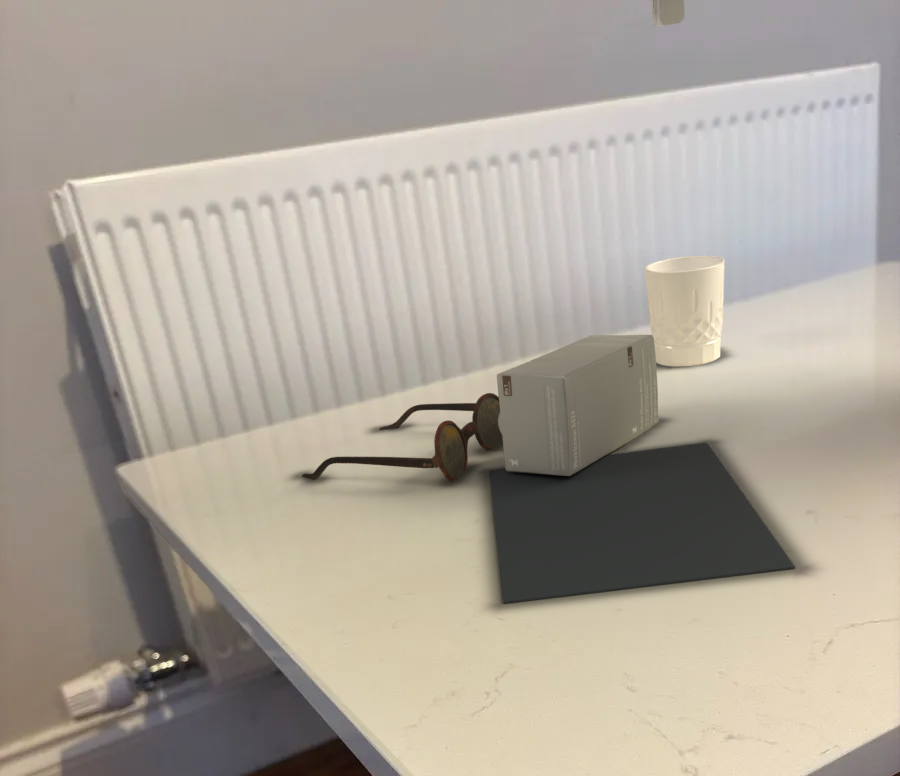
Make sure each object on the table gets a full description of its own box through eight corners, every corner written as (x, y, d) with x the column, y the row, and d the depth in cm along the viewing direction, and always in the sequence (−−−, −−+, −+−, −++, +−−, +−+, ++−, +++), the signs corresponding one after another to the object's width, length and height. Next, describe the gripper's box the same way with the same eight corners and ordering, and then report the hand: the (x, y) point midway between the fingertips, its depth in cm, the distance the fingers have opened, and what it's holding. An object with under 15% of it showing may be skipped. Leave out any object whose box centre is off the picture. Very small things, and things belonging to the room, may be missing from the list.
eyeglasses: (441, 496, 83) (432, 437, 81) (295, 484, 90) (284, 430, 88) (519, 435, 94) (513, 382, 92) (384, 429, 101) (375, 379, 99)
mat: (707, 448, 85) (706, 442, 84) (795, 575, 63) (795, 566, 63) (490, 476, 86) (489, 470, 85) (504, 610, 64) (503, 601, 64)
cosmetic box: (661, 423, 91) (580, 484, 80) (589, 420, 95) (501, 478, 84) (656, 328, 88) (570, 377, 76) (581, 329, 92) (489, 375, 80)
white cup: (634, 367, 109) (628, 270, 104) (680, 348, 113) (676, 254, 109) (695, 375, 103) (692, 273, 99) (741, 355, 108) (740, 256, 103)
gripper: (748, -263, 59) (748, 10, 66) (678, -183, 78) (683, 24, 84) (639, -245, 60) (650, 25, 66) (594, -170, 78) (606, 36, 84)
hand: (668, 25), depth 75 cm, fingers closed
